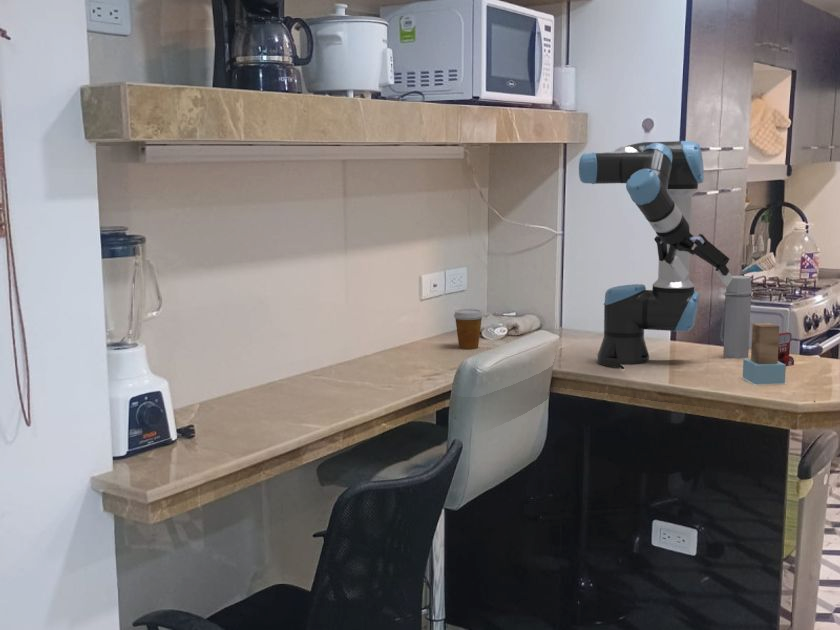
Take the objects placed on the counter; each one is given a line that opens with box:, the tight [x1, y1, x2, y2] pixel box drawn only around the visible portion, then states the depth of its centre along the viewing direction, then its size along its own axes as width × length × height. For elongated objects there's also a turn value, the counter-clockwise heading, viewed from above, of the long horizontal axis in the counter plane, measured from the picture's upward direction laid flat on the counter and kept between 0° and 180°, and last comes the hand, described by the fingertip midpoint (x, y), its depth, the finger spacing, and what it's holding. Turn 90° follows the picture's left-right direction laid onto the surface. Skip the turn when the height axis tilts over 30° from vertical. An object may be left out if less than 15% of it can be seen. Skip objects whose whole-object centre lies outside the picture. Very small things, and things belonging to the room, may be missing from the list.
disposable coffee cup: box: [453, 308, 484, 350], centre depth 296 cm, size 10×10×12 cm
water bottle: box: [719, 275, 753, 359], centre depth 272 cm, size 9×8×25 cm
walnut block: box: [750, 322, 780, 364], centre depth 241 cm, size 5×5×10 cm
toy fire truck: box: [778, 331, 795, 367], centre depth 260 cm, size 7×12×10 cm, turn 119°
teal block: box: [742, 358, 787, 385], centre depth 242 cm, size 8×8×5 cm
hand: (706, 279), depth 231 cm, fingers open, 13 cm apart
